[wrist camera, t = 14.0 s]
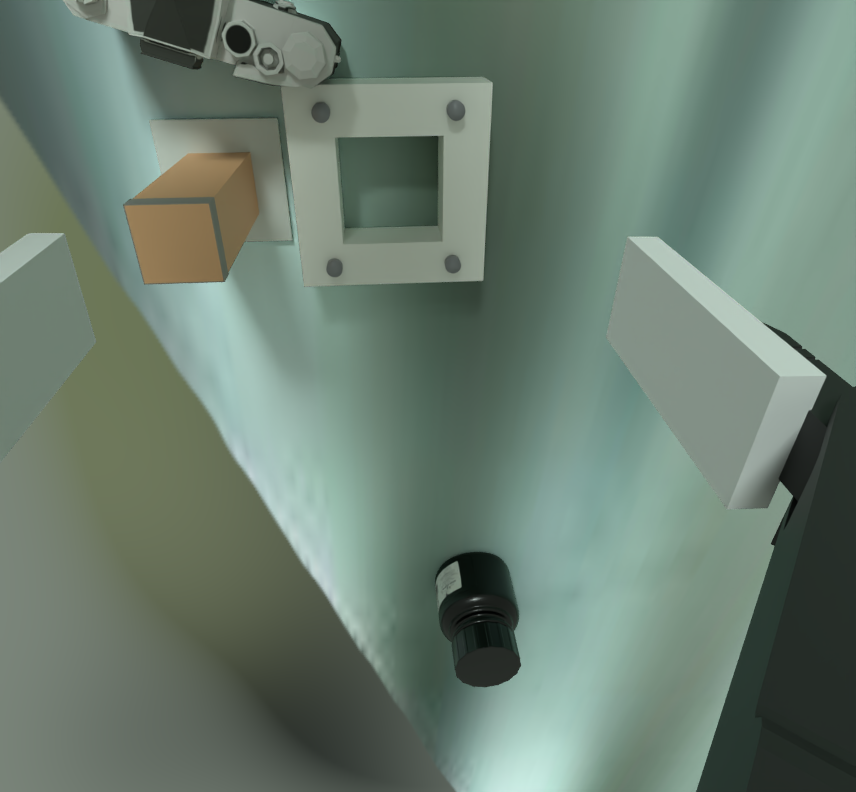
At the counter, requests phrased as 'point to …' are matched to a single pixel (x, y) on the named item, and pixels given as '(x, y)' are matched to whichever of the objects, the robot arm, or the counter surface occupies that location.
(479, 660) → the ink bottle
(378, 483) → the counter surface
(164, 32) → the camera
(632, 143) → the counter surface
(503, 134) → the counter surface
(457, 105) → the frame
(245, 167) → the plug
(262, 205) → the mat
